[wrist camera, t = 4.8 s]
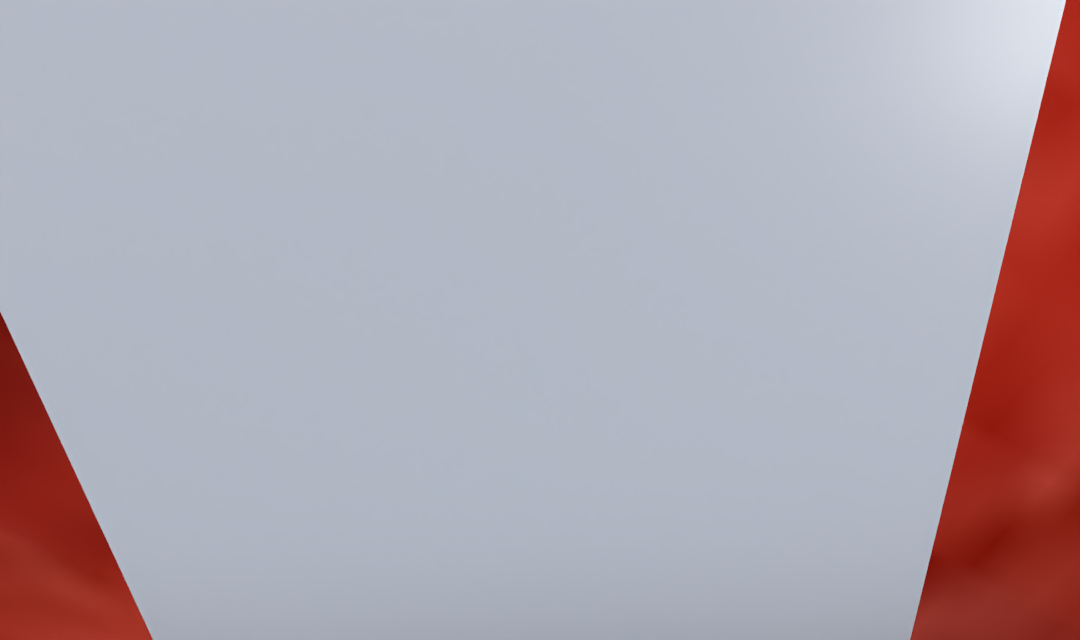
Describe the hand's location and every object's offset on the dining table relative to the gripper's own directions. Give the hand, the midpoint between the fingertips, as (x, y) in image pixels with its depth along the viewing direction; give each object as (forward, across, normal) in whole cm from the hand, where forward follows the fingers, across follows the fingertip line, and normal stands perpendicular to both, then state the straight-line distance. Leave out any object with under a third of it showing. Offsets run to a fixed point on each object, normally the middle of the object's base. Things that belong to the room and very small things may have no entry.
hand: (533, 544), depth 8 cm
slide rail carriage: (+6, 0, -4) cm, 7 cm away
